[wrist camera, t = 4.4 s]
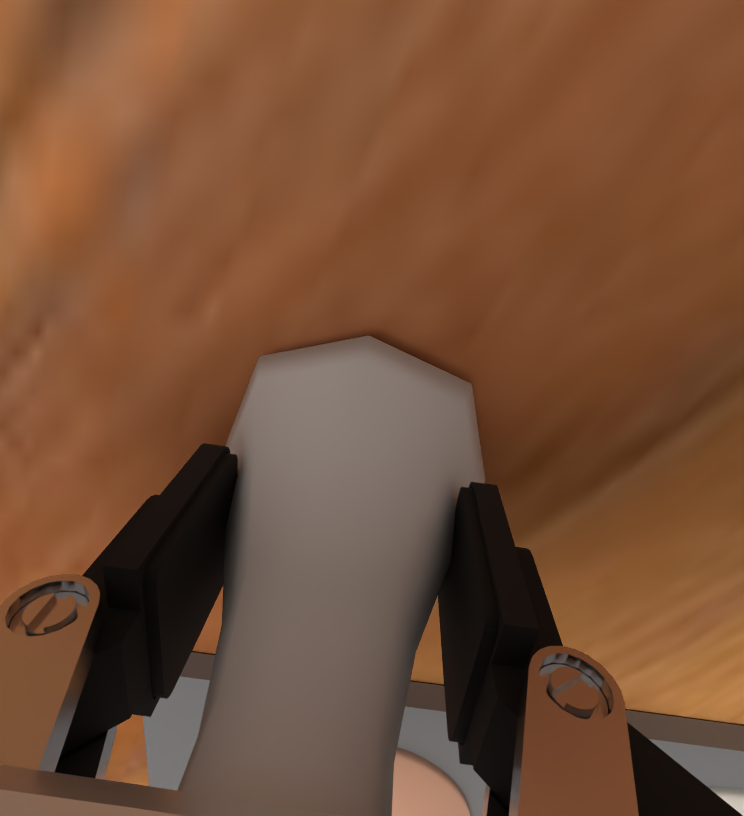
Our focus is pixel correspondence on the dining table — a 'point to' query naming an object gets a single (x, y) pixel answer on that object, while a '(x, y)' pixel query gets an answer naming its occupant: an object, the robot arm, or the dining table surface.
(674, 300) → the dining table surface
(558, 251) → the dining table surface
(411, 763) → the peach domed disc
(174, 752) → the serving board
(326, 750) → the flask
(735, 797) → the cream coaster
